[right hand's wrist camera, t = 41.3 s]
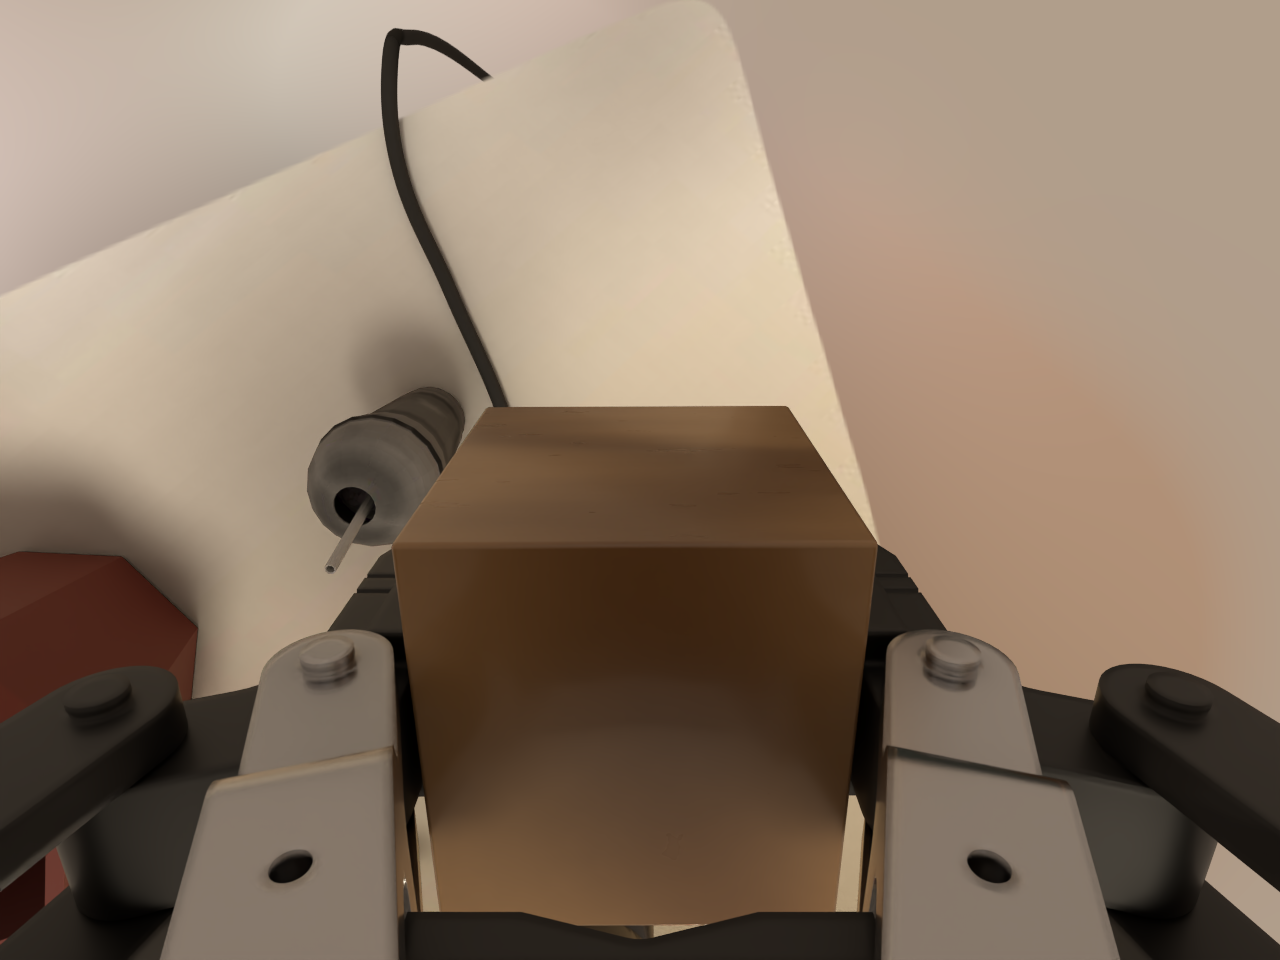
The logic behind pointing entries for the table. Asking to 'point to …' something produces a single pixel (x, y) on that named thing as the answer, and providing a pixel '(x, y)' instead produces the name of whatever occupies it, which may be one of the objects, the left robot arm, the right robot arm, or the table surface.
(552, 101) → the table surface
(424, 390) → the beverage cup
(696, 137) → the table surface
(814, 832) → the block
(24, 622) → the bucket
